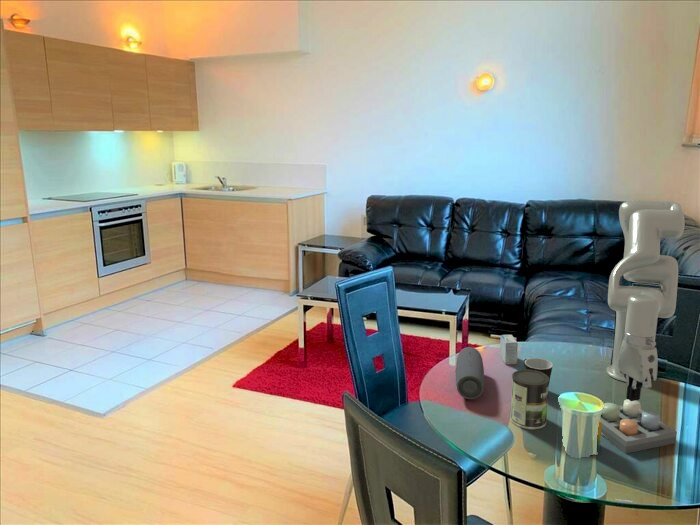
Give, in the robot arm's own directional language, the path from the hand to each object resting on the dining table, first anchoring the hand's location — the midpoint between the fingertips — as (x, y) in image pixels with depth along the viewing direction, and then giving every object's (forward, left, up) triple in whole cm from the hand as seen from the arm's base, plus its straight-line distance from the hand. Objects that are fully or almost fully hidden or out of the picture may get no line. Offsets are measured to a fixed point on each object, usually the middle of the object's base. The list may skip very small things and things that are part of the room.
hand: (632, 399), depth 154 cm
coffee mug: (+13, -27, -8) cm, 31 cm away
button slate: (0, +7, -5) cm, 8 cm away
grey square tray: (+3, +3, -8) cm, 9 cm away
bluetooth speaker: (+33, -36, -9) cm, 49 cm away
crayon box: (+18, +6, -8) cm, 21 cm away
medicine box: (+10, -50, -9) cm, 52 cm away
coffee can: (+26, -11, -8) cm, 30 cm away
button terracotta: (+7, +7, -6) cm, 11 cm away
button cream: (0, 0, -5) cm, 5 cm away
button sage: (+7, 0, -5) cm, 8 cm away
